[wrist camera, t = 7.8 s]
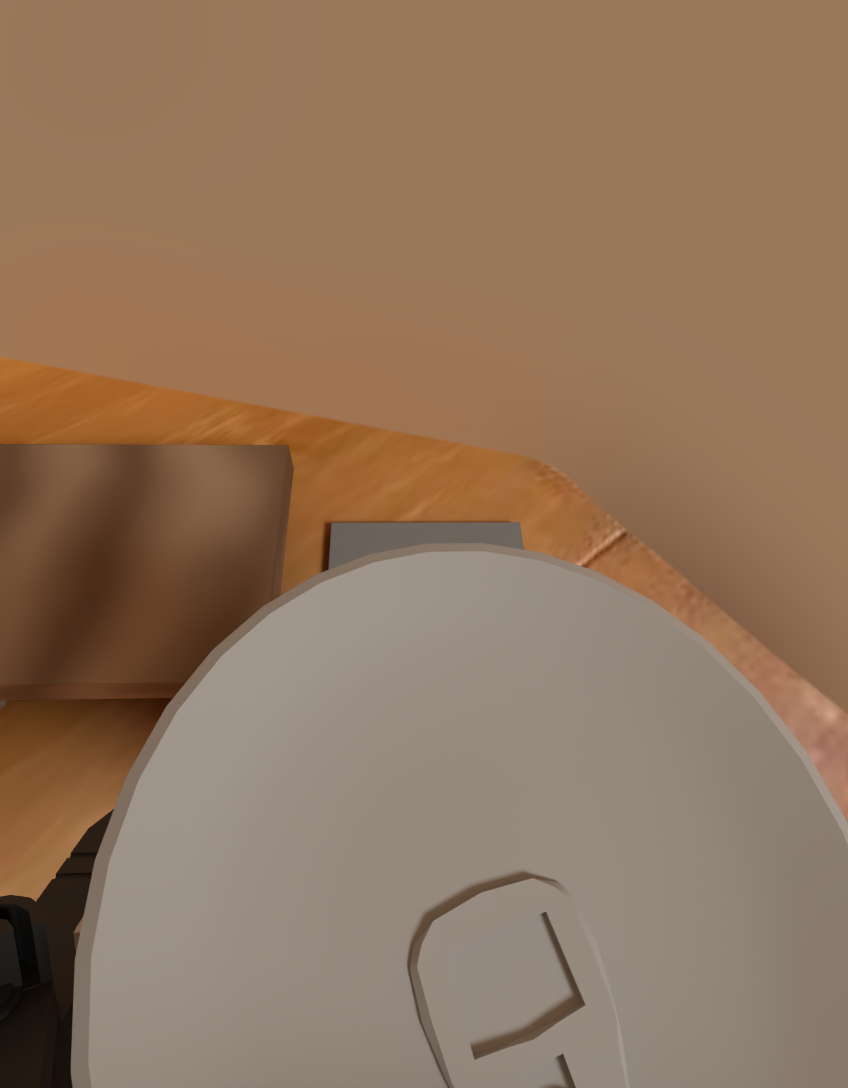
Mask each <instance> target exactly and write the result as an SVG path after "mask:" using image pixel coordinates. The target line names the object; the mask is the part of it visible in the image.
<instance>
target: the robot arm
mask: <svg viewBox="0 0 848 1088" xmlns="http://www.w3.org/2000/svg"><path fill="white" fill-rule="evenodd" d="M113 811H114V809H113V810H112V811H111V812H109V813H108V814H107V815H106V816H104V817H103V818H102V819H100V820H99V821H98V822H96V823H95V824H94V825H93V826H91V827H90V828H89V829H88V830H87V831H86V833H85V834H84V836H83V837H82V838H81V840H80V841H79V843H78V844H77V845H76V847H75V848H74V849H73V851H72V852H71V856H70V858H67V859H66V861H65V862H64V863H63V865H62V866H61V868H60V869H59V870H58V872H57V873H56V878H55V879H52V880H51V882H50V883H49V884H48V886H47V887H46V888H45V890H44V891H43V893H42V894H41V895H40V897H39V898H38V900H37V901H36V902H35V901H34V900H33V899H31V898H29V897H22V896H14V895H8V896H2V897H0V1088H73V1086H72V1079H71V1048H72V1022H73V996H74V970H75V957H76V952H77V947H78V942H79V937H80V932H81V927H82V922H83V917H84V912H85V907H86V902H87V897H88V892H89V887H90V882H91V877H92V872H93V867H94V862H95V859H96V856H97V853H98V851H99V848H100V845H101V843H102V840H103V837H104V835H105V832H106V829H107V827H108V824H109V821H110V819H111V816H112V813H113Z"/></svg>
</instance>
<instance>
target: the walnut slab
mask: <svg viewBox="0 0 848 1088" xmlns="http://www.w3.org/2000/svg"><path fill="white" fill-rule="evenodd" d="M293 471H294V469H293V464H292V460H291V455H290V451H289V446H288V445H90V444H0V709H3V708H4V707H5V704H6V701H19V700H77V699H135V698H174V696H175V695H176V694H177V693H178V692H179V690H180V689H181V688H182V687H183V685H184V684H185V683H186V682H187V681H188V679H189V678H190V677H191V676H192V674H193V673H194V672H195V671H196V670H197V668H198V667H199V666H200V665H201V663H202V662H203V661H204V660H205V659H206V657H207V656H208V655H209V654H210V652H211V651H212V650H213V649H214V648H215V647H217V646H218V645H219V644H220V643H221V642H222V641H224V640H225V639H226V638H227V637H228V636H229V635H230V634H232V633H233V632H234V631H235V630H236V629H237V628H238V627H240V626H241V625H242V624H243V623H244V622H245V621H247V620H248V619H249V618H250V617H251V616H252V615H253V614H255V613H256V612H257V611H258V610H259V609H260V608H262V607H263V606H264V605H266V604H268V603H269V602H271V601H273V600H274V599H276V598H278V597H279V596H280V588H281V579H282V570H283V561H284V552H285V543H286V534H287V525H288V516H289V507H290V498H291V489H292V480H293Z"/></svg>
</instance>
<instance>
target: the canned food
mask: <svg viewBox="0 0 848 1088" xmlns="http://www.w3.org/2000/svg"><path fill="white" fill-rule="evenodd" d="M71 1079H72V1086H73V1088H848V822H847V821H846V819H845V817H844V815H843V814H842V812H841V810H840V808H839V807H838V805H837V803H836V801H835V800H834V798H833V796H832V794H831V793H830V791H829V789H828V788H827V786H826V784H825V782H824V781H823V779H822V777H821V775H820V774H819V772H818V770H817V768H816V767H815V765H814V763H813V762H812V760H811V758H810V756H809V755H808V753H807V752H806V751H805V750H804V748H803V747H802V746H801V744H800V743H799V742H798V740H797V739H796V738H795V737H794V735H793V734H792V733H791V731H790V730H789V729H788V728H787V726H786V725H785V724H784V722H783V721H782V720H781V719H780V717H779V716H778V715H777V713H776V712H775V711H774V709H773V708H772V707H771V706H770V704H769V703H768V702H767V700H766V699H765V698H764V697H763V695H762V694H761V693H760V692H759V691H758V690H757V689H756V688H755V687H754V686H753V685H752V684H751V683H750V682H749V681H748V680H747V679H746V678H745V677H744V676H743V675H742V674H741V673H740V672H739V671H738V670H737V669H736V668H735V667H734V666H733V665H732V664H731V663H730V662H729V661H728V660H727V659H726V658H725V657H724V656H723V655H722V654H721V653H720V652H718V651H717V650H716V649H715V648H714V647H713V646H712V645H711V644H710V643H709V642H708V641H707V640H706V639H704V638H703V637H702V636H700V635H699V634H698V633H696V632H695V631H693V630H692V629H691V628H689V627H688V626H687V625H685V624H684V623H682V622H681V621H680V620H678V619H677V618H676V617H674V616H673V615H672V614H670V613H669V612H667V611H666V610H665V609H663V608H662V607H661V606H659V605H658V604H656V603H655V602H654V601H652V600H650V599H648V598H646V597H644V596H643V595H641V594H639V593H637V592H635V591H633V590H631V589H629V588H627V587H625V586H623V585H622V584H620V583H618V582H616V581H614V580H612V579H610V578H608V577H606V576H604V575H602V574H600V573H599V572H597V571H594V570H591V569H588V568H585V567H582V566H579V565H576V564H573V563H570V562H567V561H564V560H561V559H558V558H555V557H552V556H549V555H546V554H543V553H540V552H534V551H528V550H522V549H516V548H510V547H504V546H497V545H491V544H485V543H445V544H422V545H417V546H411V547H406V548H400V549H395V550H390V551H384V552H379V553H374V554H369V555H367V556H364V557H361V558H359V559H356V560H353V561H351V562H348V563H346V564H343V565H340V566H338V567H335V568H332V569H330V570H327V571H324V572H322V573H319V574H317V575H314V576H313V577H311V578H309V579H308V580H306V581H304V582H303V583H301V584H299V585H298V586H296V587H294V588H293V589H291V590H289V591H288V592H286V593H284V594H283V595H281V596H279V597H278V598H276V599H274V600H273V601H271V602H269V603H268V604H266V605H264V606H263V607H262V608H260V609H259V610H258V611H257V612H256V613H255V614H253V615H252V616H251V617H250V618H249V619H248V620H247V621H245V622H244V623H243V624H242V625H241V626H240V627H238V628H237V629H236V630H235V631H234V632H233V633H232V634H230V635H229V636H228V637H227V638H226V639H225V640H224V641H222V642H221V643H220V644H219V645H218V646H217V647H215V648H214V649H213V650H212V651H211V652H210V654H209V655H208V656H207V657H206V659H205V660H204V661H203V662H202V663H201V665H200V666H199V667H198V668H197V670H196V671H195V672H194V673H193V674H192V676H191V677H190V678H189V679H188V681H187V682H186V683H185V684H184V685H183V687H182V688H181V689H180V690H179V692H178V693H177V694H176V695H175V696H174V698H173V699H172V700H171V701H170V703H169V704H168V705H167V706H166V708H165V710H164V711H163V713H162V715H161V717H160V718H159V720H158V722H157V724H156V725H155V727H154V729H153V731H152V732H151V734H150V736H149V738H148V739H147V741H146V743H145V745H144V746H143V748H142V750H141V752H140V753H139V755H138V757H137V759H136V760H135V762H134V764H133V766H132V767H131V769H130V771H129V773H128V774H127V776H126V779H125V781H124V784H123V787H122V789H121V792H120V795H119V797H118V800H117V803H116V805H115V808H114V811H113V813H112V816H111V819H110V821H109V824H108V827H107V829H106V832H105V835H104V837H103V840H102V843H101V845H100V848H99V851H98V853H97V856H96V859H95V862H94V867H93V872H92V877H91V882H90V887H89V892H88V897H87V902H86V907H85V912H84V917H83V922H82V927H81V932H80V937H79V942H78V947H77V952H76V957H75V970H74V996H73V1022H72V1048H71Z"/></svg>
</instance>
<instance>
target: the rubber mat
mask: <svg viewBox="0 0 848 1088" xmlns="http://www.w3.org/2000/svg"><path fill="white" fill-rule="evenodd" d="M445 543H485V544H491V545H497V546H504V547H510V548H516V549H522V550H524V548H523V541H522V534H521V527H520V522H453V523H331V539H330V555H329V570H330V569H332V568H335V567H338V566H340V565H343V564H346V563H348V562H351V561H353V560H356V559H359V558H361V557H364V556H367V555H369V554H374V553H379V552H384V551H390V550H395V549H400V548H406V547H411V546H417V545H422V544H445Z"/></svg>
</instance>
